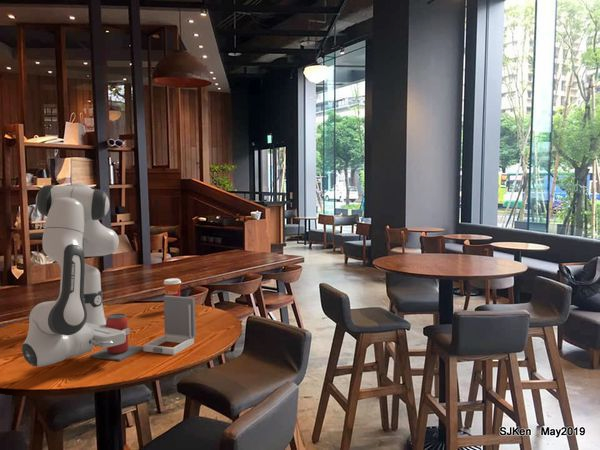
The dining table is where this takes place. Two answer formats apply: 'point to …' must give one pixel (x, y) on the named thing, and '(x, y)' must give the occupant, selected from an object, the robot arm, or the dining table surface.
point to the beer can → (117, 323)
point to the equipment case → (176, 325)
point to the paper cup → (172, 287)
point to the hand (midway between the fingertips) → (119, 328)
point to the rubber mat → (105, 355)
